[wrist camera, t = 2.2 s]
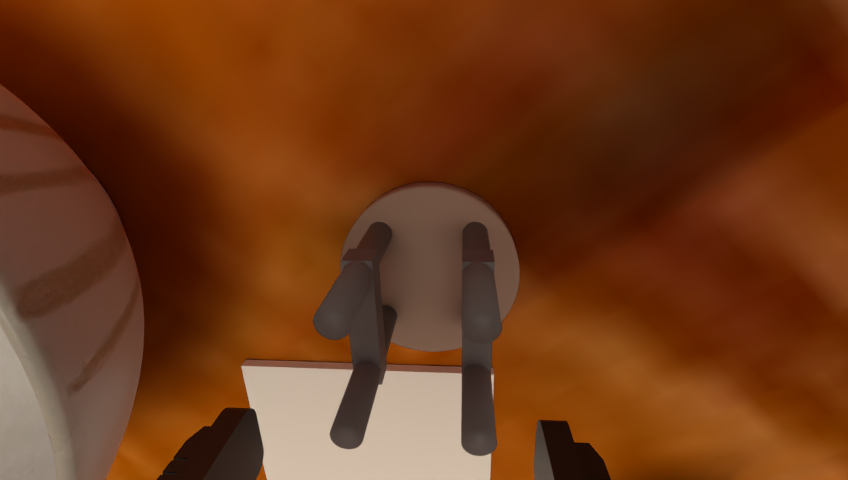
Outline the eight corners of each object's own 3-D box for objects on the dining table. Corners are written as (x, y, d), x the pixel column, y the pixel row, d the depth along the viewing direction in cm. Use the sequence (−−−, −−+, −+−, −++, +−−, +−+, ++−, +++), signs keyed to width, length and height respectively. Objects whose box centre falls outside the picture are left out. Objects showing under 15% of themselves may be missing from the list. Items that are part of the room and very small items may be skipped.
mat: (245, 359, 26) (241, 365, 25) (493, 367, 24) (494, 374, 24) (282, 527, 31) (279, 535, 31) (487, 542, 30) (487, 550, 29)
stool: (339, 182, 21) (251, 257, 12) (520, 180, 20) (563, 260, 12) (355, 333, 25) (294, 478, 16) (512, 337, 24) (540, 493, 15)
